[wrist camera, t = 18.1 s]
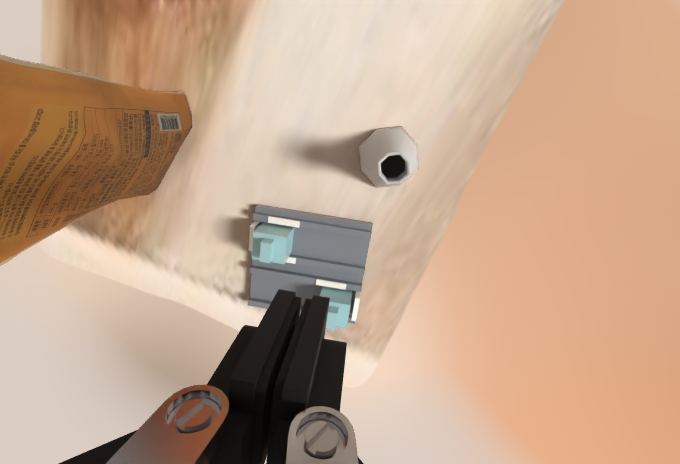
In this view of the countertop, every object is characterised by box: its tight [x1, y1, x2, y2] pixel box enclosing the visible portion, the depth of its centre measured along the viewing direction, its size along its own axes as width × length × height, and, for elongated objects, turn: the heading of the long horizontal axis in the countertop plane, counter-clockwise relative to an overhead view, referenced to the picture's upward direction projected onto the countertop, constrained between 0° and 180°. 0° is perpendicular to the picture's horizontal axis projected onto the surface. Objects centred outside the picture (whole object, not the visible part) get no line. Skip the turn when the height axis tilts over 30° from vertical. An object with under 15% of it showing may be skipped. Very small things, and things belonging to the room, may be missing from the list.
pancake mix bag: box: [0, 54, 192, 266], centre depth 29 cm, size 7×19×28 cm, turn 143°
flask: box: [359, 126, 418, 187], centre depth 35 cm, size 7×7×10 cm
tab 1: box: [252, 222, 294, 264], centre depth 41 cm, size 4×4×6 cm
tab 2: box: [320, 286, 352, 331], centre depth 43 cm, size 4×4×6 cm
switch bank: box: [248, 204, 372, 324], centre depth 44 cm, size 14×15×3 cm
